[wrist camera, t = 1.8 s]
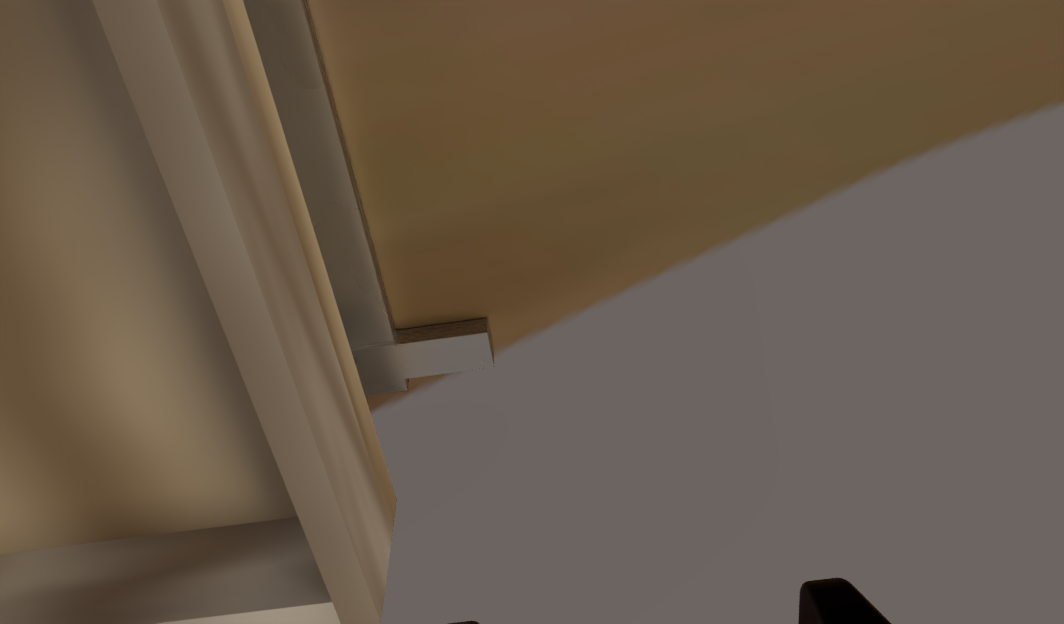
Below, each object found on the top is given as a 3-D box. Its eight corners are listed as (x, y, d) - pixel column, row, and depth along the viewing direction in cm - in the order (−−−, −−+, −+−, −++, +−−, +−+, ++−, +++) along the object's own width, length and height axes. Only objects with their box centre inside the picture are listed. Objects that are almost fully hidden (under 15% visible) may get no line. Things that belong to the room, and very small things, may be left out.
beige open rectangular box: (207, -211, 14) (88, -188, 10) (402, 455, 22) (380, 622, 18) (-409, -110, 15) (-763, -47, 11) (-4, 507, 23) (-116, 682, 19)
